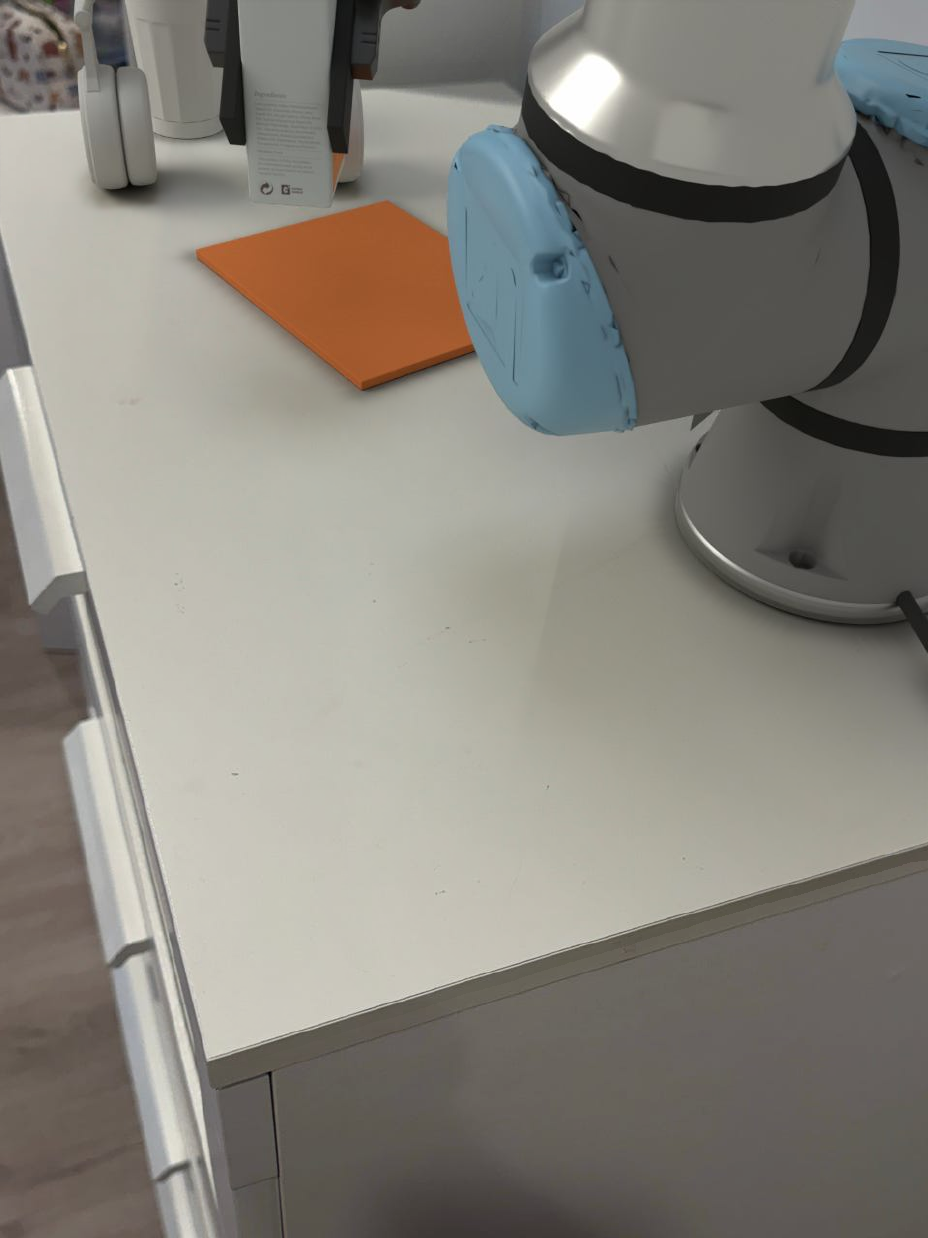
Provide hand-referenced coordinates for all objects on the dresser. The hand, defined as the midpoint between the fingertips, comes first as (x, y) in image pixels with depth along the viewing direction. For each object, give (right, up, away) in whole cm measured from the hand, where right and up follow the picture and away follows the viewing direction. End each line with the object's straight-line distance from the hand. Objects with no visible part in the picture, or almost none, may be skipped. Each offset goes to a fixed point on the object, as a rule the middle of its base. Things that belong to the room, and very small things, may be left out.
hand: (285, 135), depth 55 cm
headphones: (-10, +11, +35) cm, 38 cm away
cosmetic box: (0, 0, +6) cm, 6 cm away
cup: (-15, +18, +43) cm, 49 cm away
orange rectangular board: (+3, 0, +24) cm, 24 cm away
